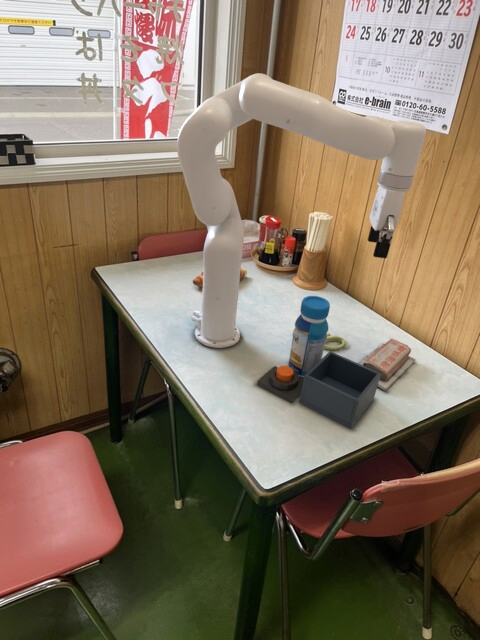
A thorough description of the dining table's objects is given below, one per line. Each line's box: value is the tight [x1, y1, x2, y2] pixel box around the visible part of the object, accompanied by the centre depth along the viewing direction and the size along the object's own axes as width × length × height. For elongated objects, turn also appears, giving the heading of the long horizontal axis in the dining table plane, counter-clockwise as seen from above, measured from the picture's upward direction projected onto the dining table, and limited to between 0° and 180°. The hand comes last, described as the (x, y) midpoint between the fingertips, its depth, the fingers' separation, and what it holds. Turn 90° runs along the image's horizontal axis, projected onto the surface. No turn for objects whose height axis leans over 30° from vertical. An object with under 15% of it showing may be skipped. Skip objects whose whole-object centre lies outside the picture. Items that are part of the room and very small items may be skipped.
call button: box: [276, 365, 293, 382], centre depth 115 cm, size 4×4×2 cm
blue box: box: [299, 350, 381, 429], centre depth 112 cm, size 13×13×8 cm
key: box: [324, 332, 346, 351], centre depth 136 cm, size 7×12×2 cm, turn 43°
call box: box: [256, 365, 304, 404], centre depth 117 cm, size 10×8×3 cm
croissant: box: [192, 267, 248, 288], centre depth 160 cm, size 21×10×8 cm, turn 126°
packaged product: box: [358, 338, 416, 392], centre depth 126 cm, size 18×5×10 cm
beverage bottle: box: [287, 295, 331, 379], centre depth 119 cm, size 8×8×20 cm
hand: (376, 249), depth 118 cm, fingers open, 9 cm apart
